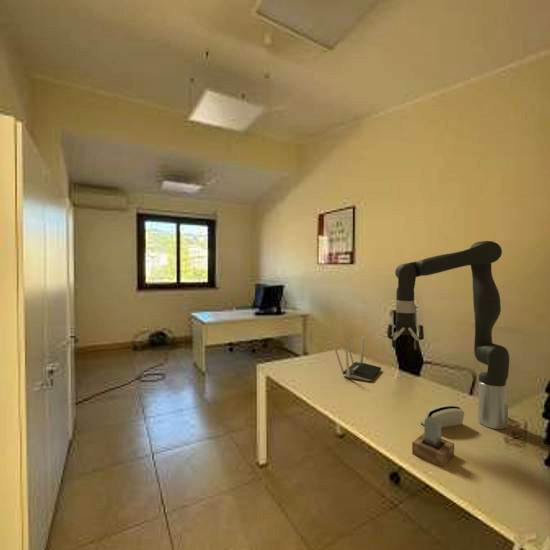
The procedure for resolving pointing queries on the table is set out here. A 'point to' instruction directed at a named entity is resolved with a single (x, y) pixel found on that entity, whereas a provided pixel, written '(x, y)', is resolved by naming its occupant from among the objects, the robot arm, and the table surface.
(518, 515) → the table surface
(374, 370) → the wireless router
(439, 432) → the square bit
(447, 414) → the white rounded block
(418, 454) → the socket block
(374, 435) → the table surface
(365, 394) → the table surface
